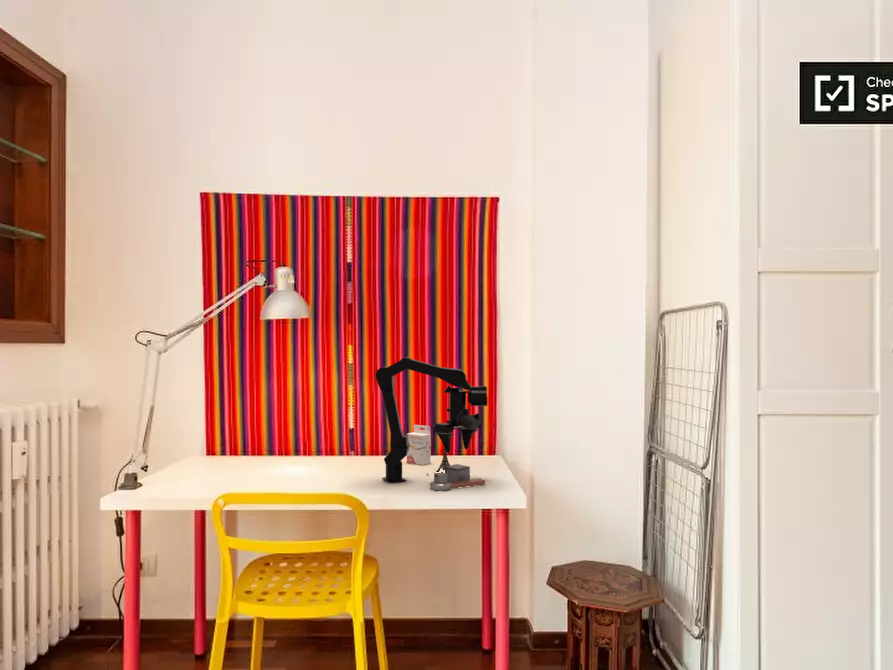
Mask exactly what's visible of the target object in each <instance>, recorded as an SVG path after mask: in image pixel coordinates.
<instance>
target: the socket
mask: <svg viewBox="0 0 893 670" xmlns="http://www.w3.org/2000/svg"><path fill="white" fill-rule="evenodd" d="M470 469H471V466H468V465H463V464H458V463H457V464H456V463H455V464H452V465H451V464H450V466H446V467H445V473H446V474H447V481H449V482H453V481H461V480H470V479H471V472H470V471H471V470H470Z"/></svg>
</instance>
